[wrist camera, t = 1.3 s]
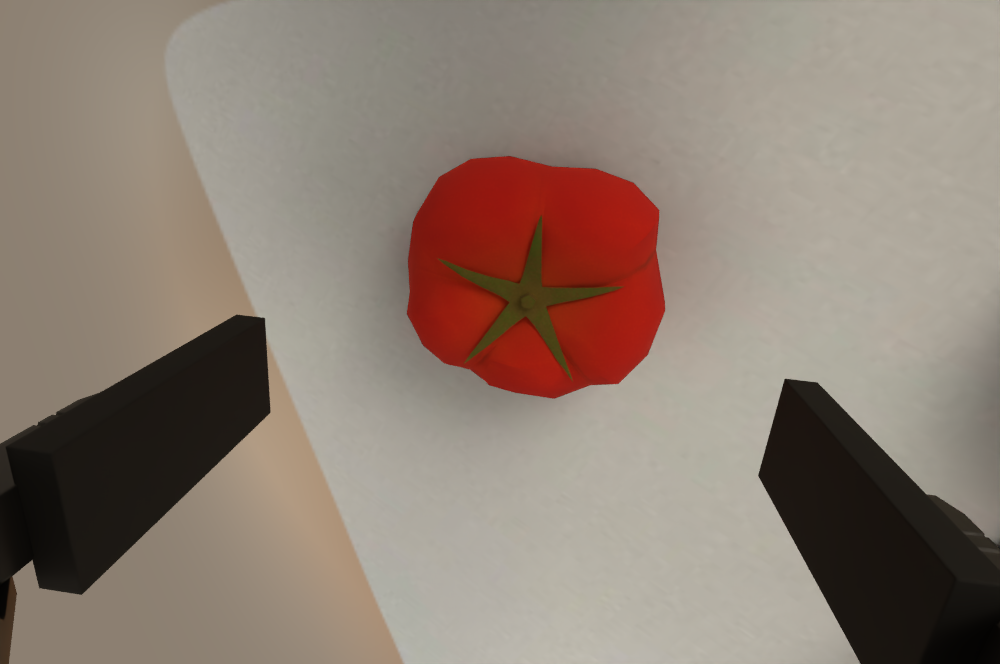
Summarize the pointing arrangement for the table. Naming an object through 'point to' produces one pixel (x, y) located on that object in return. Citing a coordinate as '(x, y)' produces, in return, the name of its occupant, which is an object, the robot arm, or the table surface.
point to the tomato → (536, 275)
